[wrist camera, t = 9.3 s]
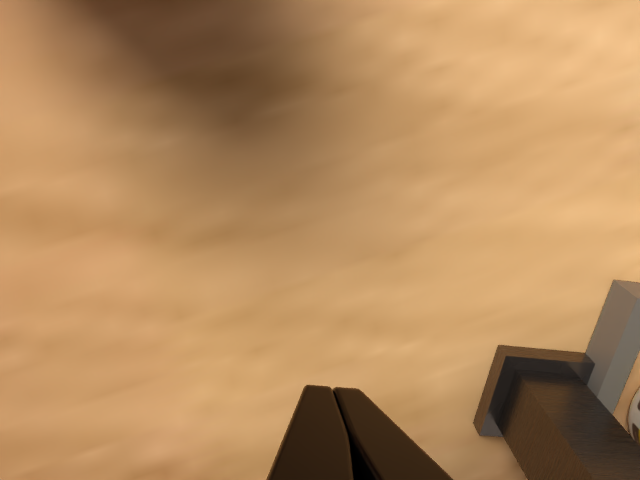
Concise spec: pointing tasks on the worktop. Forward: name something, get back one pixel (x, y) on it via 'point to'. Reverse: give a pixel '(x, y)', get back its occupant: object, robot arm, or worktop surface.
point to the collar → (615, 342)
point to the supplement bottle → (635, 418)
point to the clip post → (554, 417)
